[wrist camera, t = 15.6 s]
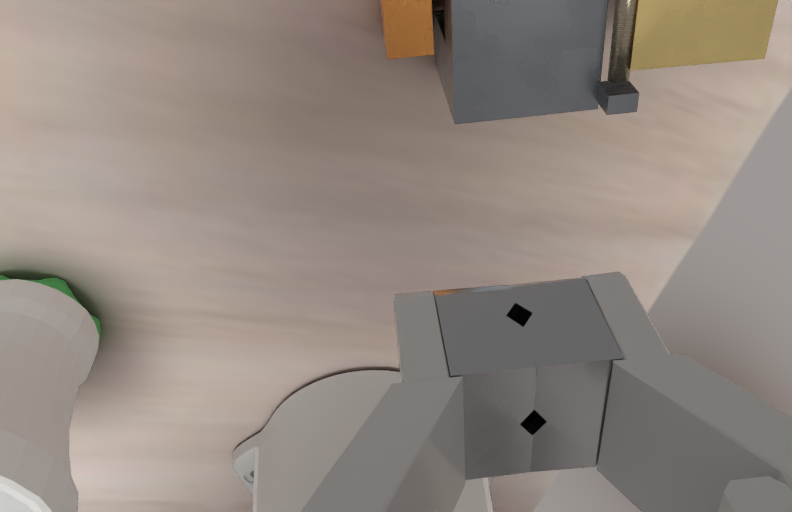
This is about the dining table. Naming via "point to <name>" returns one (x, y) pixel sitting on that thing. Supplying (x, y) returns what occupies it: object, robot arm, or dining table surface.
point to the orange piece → (408, 27)
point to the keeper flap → (687, 33)
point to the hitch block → (525, 59)
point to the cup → (40, 391)
